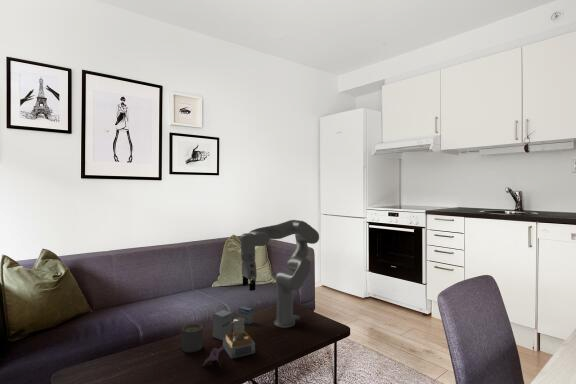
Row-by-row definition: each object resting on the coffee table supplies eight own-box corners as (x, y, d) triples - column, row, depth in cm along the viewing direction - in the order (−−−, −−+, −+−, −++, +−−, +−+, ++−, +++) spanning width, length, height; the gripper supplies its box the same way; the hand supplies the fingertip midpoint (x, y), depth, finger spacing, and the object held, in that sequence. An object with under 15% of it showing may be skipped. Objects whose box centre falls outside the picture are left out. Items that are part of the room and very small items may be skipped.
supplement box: (221, 340, 173) (221, 316, 173) (212, 336, 177) (212, 313, 177) (232, 335, 179) (232, 312, 179) (222, 332, 183) (223, 309, 183)
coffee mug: (203, 350, 163) (204, 330, 162) (182, 353, 159) (183, 333, 159) (199, 338, 175) (200, 319, 175) (180, 341, 171) (180, 322, 171)
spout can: (242, 336, 167) (242, 316, 167) (245, 340, 162) (246, 320, 162) (227, 339, 164) (227, 319, 164) (231, 343, 159) (231, 323, 159)
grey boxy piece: (244, 341, 173) (245, 328, 173) (255, 353, 160) (255, 340, 160) (222, 345, 167) (222, 333, 167) (231, 359, 154) (231, 345, 154)
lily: (228, 360, 156) (219, 340, 157) (235, 361, 146) (226, 340, 147) (204, 375, 149) (196, 355, 151) (210, 377, 139) (201, 356, 141)
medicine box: (238, 322, 197) (238, 307, 197) (242, 319, 201) (242, 305, 201) (249, 325, 193) (249, 310, 193) (253, 322, 197) (253, 308, 197)
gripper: (261, 258, 172) (261, 291, 172) (248, 252, 187) (249, 282, 187) (247, 260, 168) (248, 293, 169) (236, 254, 183) (236, 284, 184)
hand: (248, 287), depth 178 cm, fingers open, 9 cm apart
